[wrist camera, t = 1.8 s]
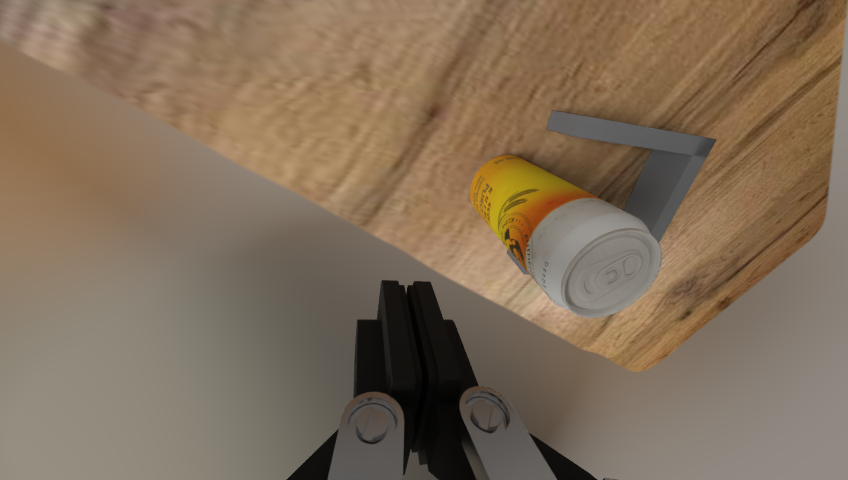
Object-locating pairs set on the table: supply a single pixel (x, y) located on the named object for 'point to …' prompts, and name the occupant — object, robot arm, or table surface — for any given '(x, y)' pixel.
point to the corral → (661, 174)
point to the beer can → (567, 237)
